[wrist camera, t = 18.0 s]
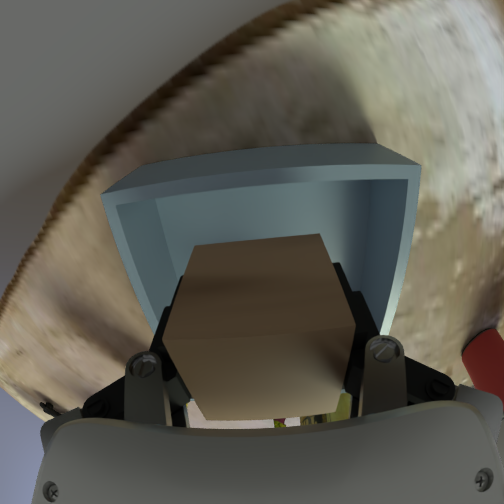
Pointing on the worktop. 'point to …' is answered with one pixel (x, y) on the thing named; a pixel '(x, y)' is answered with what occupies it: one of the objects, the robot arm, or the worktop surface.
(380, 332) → the tote
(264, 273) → the walnut cube
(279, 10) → the worktop surface
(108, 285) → the worktop surface
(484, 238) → the worktop surface
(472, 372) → the beer can
